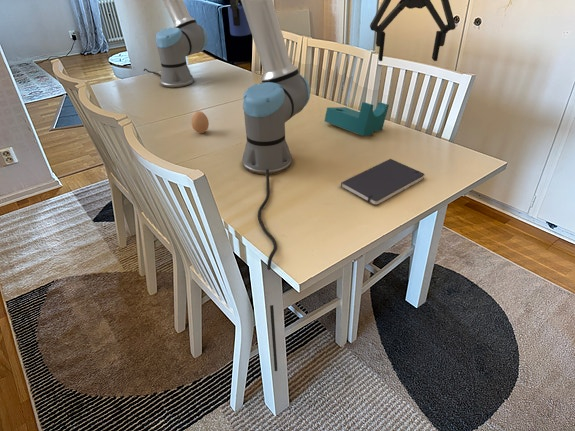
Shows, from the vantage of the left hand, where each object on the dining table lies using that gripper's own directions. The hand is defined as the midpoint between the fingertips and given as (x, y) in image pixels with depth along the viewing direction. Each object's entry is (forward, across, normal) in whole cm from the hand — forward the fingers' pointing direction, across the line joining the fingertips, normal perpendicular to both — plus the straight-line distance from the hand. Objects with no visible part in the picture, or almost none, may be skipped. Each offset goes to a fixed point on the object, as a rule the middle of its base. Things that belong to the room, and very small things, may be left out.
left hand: (239, 23), depth 174 cm
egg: (+27, -55, +4) cm, 61 cm away
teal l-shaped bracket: (+27, -45, -51) cm, 73 cm away
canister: (+4, 0, 0) cm, 4 cm away
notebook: (+27, -84, -60) cm, 106 cm away
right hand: (-5, -74, -62) cm, 97 cm away
